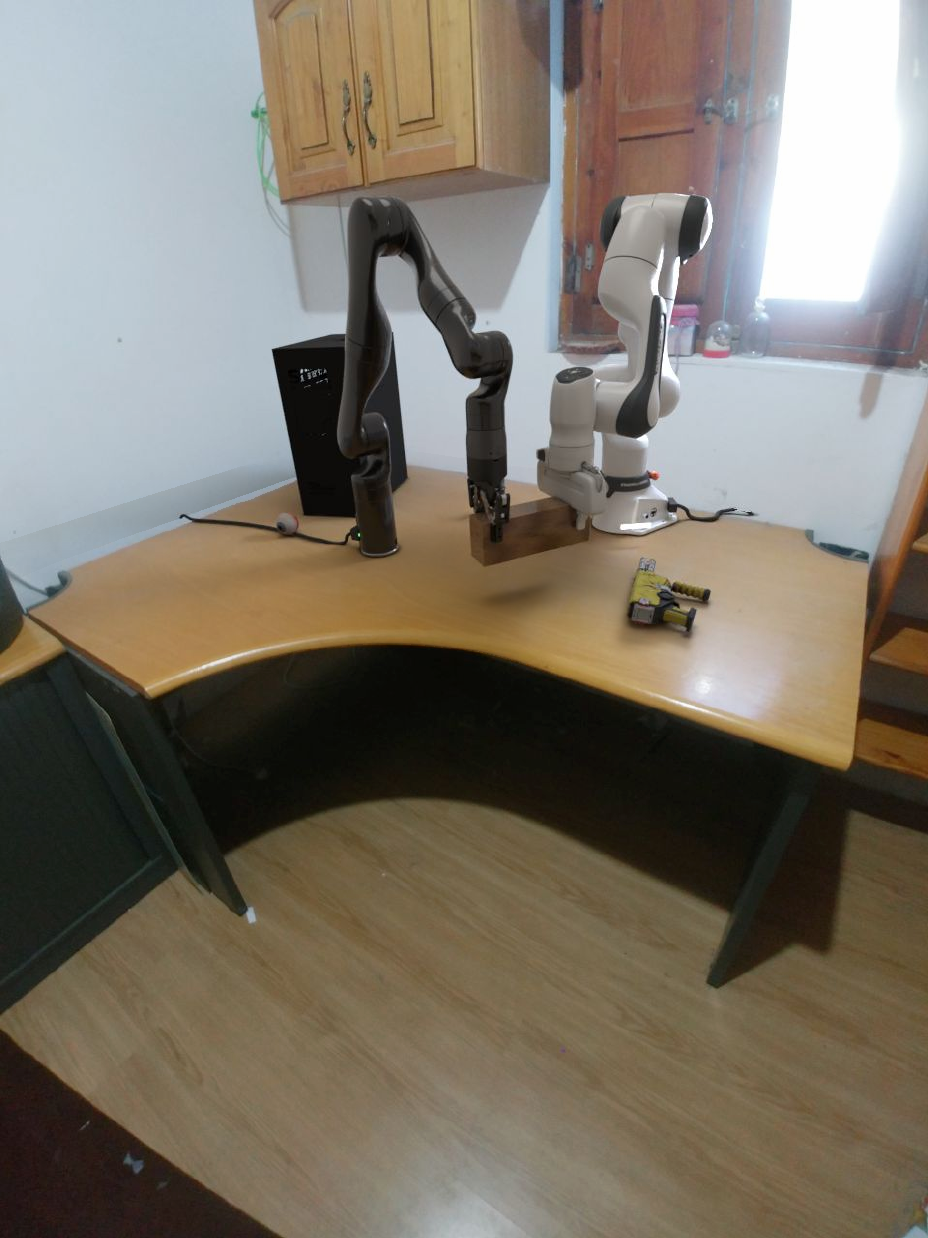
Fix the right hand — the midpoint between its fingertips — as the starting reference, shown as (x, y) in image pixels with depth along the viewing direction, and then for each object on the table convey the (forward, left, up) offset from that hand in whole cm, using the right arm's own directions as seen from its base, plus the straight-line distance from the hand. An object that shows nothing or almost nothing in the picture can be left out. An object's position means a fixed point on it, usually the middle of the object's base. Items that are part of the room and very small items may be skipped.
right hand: (568, 522), depth 126 cm
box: (+9, 0, -4) cm, 10 cm away
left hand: (+19, 0, +1) cm, 19 cm away
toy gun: (-12, +19, -13) cm, 26 cm away
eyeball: (+50, -61, -13) cm, 80 cm away
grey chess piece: (-7, -45, -13) cm, 47 cm away
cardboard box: (+23, -84, -13) cm, 88 cm away
